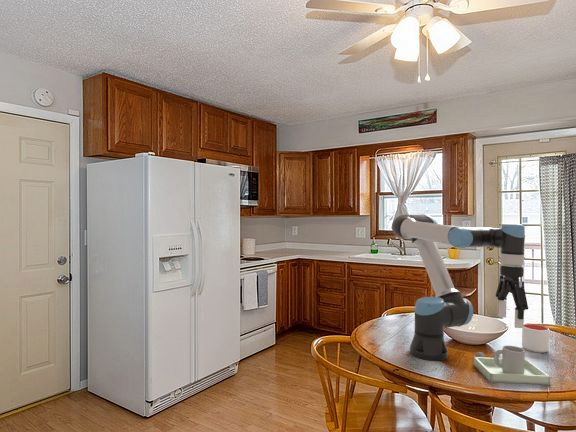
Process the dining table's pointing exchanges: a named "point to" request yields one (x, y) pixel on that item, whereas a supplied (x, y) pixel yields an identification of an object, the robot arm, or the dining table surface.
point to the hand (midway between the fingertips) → (510, 322)
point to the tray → (497, 375)
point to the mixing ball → (479, 354)
